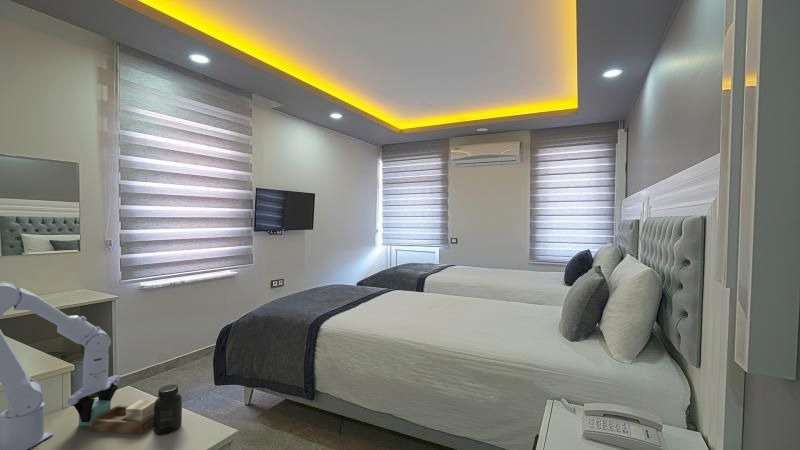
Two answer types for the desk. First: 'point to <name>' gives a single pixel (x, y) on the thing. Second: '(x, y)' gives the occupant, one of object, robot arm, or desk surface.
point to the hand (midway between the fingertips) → (95, 416)
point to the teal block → (97, 411)
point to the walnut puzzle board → (120, 422)
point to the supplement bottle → (167, 410)
